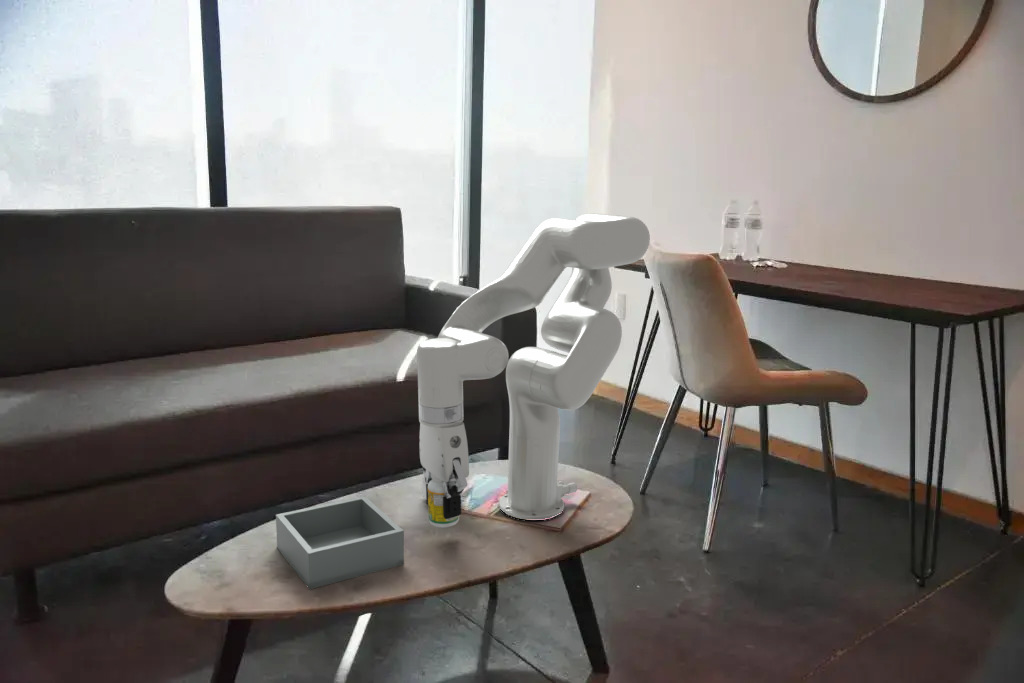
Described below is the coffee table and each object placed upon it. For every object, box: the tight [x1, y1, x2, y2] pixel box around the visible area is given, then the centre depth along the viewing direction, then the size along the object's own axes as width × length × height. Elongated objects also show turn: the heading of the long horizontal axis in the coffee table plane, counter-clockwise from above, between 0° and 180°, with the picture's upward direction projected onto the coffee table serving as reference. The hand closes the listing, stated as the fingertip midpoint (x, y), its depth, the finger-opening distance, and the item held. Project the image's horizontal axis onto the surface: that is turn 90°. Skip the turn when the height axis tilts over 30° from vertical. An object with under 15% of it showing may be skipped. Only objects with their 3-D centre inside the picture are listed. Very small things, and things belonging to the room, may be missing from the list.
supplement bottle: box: [427, 473, 460, 528], centre depth 141 cm, size 5×5×10 cm
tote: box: [275, 495, 405, 590], centre depth 135 cm, size 16×16×6 cm
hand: (443, 508), depth 142 cm, fingers closed on supplement bottle, 5 cm apart
